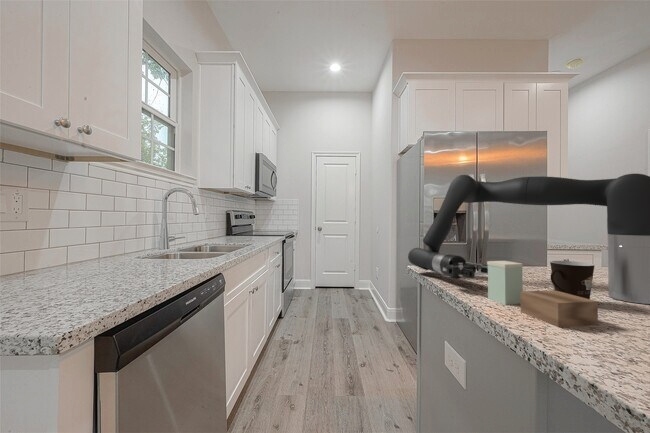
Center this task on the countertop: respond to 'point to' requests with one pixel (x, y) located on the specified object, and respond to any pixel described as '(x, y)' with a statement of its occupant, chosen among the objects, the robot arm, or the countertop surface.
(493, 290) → the tea tin
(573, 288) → the coffee mug
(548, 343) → the countertop surface
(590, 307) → the walnut box
